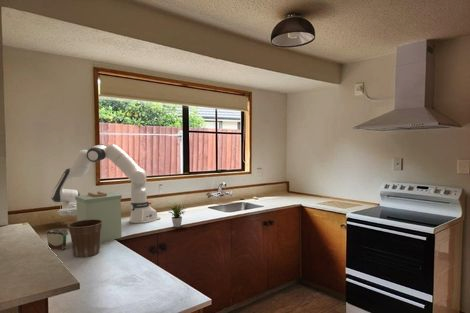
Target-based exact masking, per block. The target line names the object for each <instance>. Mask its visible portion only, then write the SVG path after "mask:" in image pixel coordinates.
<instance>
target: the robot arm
mask: <svg viewBox="0 0 470 313" xmlns="http://www.w3.org/2000/svg"><path fill="white" fill-rule="evenodd" d="M104 159H109V160H110V161H111V163H113V164H114V165H115V166H116V167H117V168H118V169H119V170H120V171H121V172H122V173H123V174H124V175H125V176H126V177H127V179H128V180H130V182H131V183H130V184H131V185H130V217H129V222H130V223H133V224H145V223H149V222H154V221H158V220H160V219H161V216H159V215H158V212H157V210H156V209H154V208H153V207H151V206H150V205H152V201H148V200H147V199H148V197H147V196H148V194H147V191H148V190H147V172H146V170H145V169H144V168H141V167H140V166H139V165H138V164H137V163H136V162H135V161H134V159H132V158H131V157H130V156H129V154H127V153H126V152H125V151H124V150H123V149H122V148H121V147H119V146H118V145H116V144H114V143H113V144H109V145H106V144H102V143H100V144H97V145H94V146H92V147H89V149H80V150H79V151H78V152H77V154H76V156H75V159H74V161H73V163H72V164H71V166H70V167H69V168H66V169H65V171H64V172H63V173H62V175H61V177H60V179H59V181H58V182H57V184H56V186H55V187H54V189H53V190H52V191H51V194H50V198H51V200H52V201H53V202H54V203H61V204H62V203H63V202H64V203H63V204H62V209H61V208H60V209H59V210H57V211H56V213H57V214H58V215H59V216H61V217H62V216H71V217H74V216H77V203H76V200H75V196H81V193H80V191H78V190H77V189H72V188H71V189H70V188H69V189H68V188H65V186H66V184H67V182H68V181H69V180H71V179H74V178H79V177H83V176H85V175H86V174H88V173H89V170H90V167H91V165H92V163H98V162H100V161H102V160H104Z"/></svg>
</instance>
